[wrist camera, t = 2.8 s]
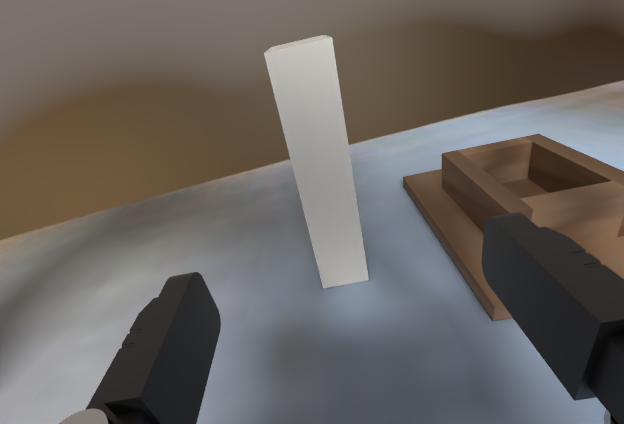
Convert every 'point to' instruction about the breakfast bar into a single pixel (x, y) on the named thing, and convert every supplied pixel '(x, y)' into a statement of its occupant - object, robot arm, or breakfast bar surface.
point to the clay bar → (320, 155)
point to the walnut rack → (521, 202)
